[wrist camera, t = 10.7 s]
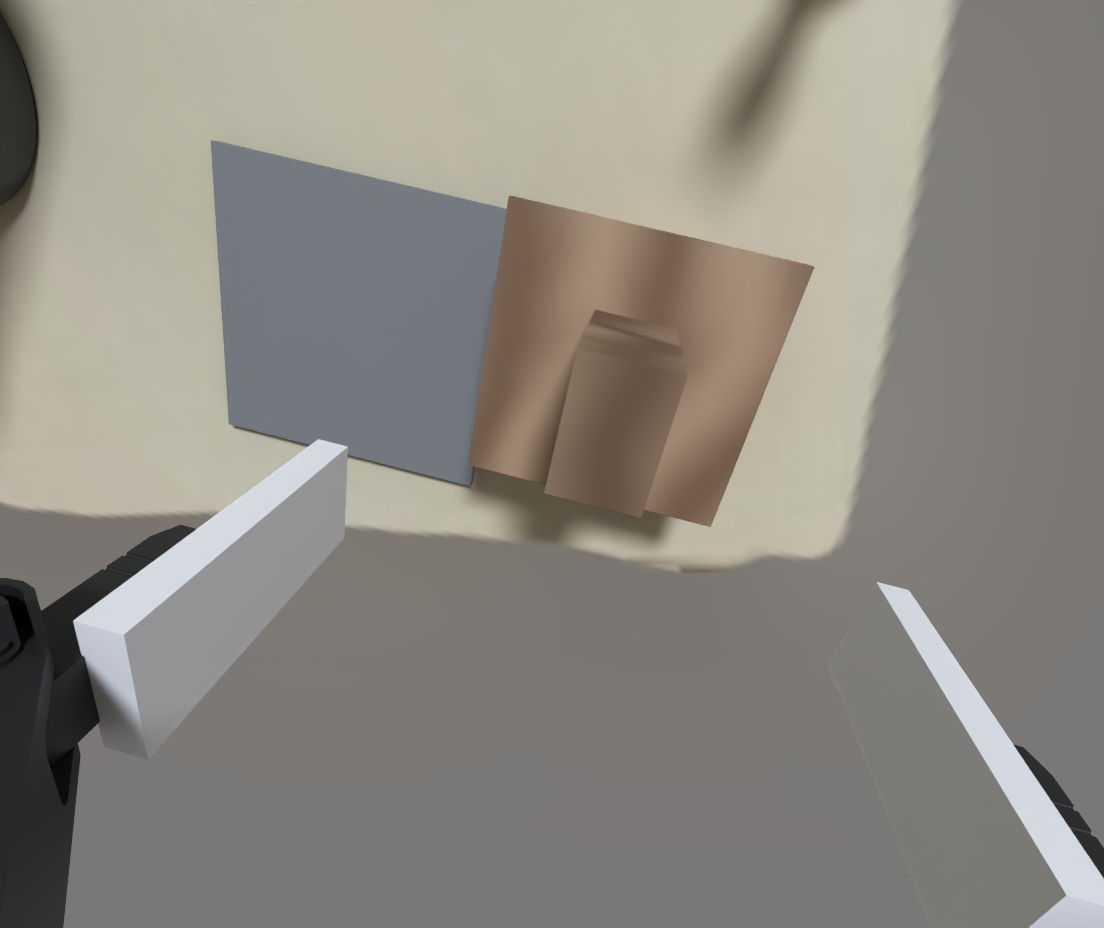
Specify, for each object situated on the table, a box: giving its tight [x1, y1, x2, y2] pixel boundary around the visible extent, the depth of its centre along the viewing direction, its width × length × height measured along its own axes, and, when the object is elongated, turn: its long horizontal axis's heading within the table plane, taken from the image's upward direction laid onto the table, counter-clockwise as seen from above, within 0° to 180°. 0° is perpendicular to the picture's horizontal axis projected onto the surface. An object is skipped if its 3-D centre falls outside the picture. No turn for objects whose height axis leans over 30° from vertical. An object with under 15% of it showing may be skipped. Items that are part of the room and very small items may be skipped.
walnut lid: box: [468, 196, 814, 527], centre depth 25 cm, size 14×14×9 cm
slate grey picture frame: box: [211, 141, 507, 486], centre depth 36 cm, size 18×18×1 cm
